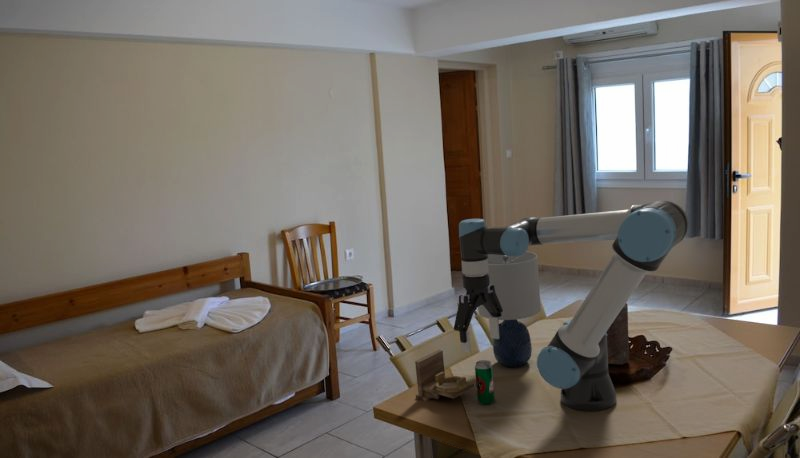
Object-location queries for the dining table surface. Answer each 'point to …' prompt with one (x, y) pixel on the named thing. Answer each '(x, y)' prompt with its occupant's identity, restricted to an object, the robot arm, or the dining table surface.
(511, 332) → the lamp
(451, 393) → the bracket
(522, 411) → the dining table surface
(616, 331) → the candle
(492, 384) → the soda can
